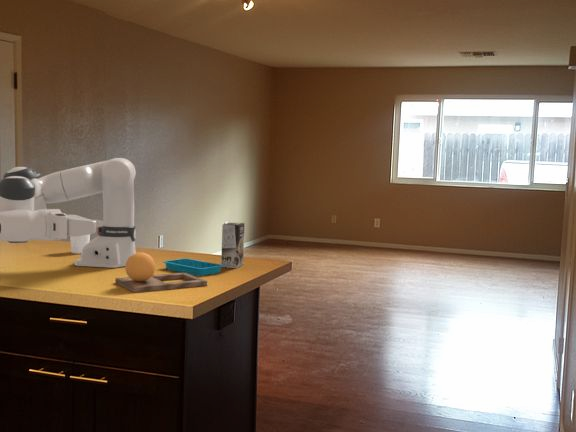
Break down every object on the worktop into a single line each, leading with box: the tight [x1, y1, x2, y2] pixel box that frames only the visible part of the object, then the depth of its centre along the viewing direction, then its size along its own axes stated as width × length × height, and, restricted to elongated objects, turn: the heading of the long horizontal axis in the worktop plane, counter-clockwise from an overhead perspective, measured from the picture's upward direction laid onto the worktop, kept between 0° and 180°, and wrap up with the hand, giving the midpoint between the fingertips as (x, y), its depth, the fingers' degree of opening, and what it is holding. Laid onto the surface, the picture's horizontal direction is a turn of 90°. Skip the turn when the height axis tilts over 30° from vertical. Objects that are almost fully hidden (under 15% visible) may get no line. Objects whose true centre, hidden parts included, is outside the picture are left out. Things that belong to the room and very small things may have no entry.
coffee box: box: [220, 222, 245, 269], centre depth 236 cm, size 9×6×16 cm
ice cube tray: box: [162, 258, 223, 277], centre depth 225 cm, size 12×20×3 cm, turn 52°
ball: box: [124, 251, 156, 282], centre depth 195 cm, size 9×9×9 cm
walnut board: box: [114, 272, 208, 293], centre depth 199 cm, size 24×16×2 cm, turn 124°
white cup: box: [69, 234, 91, 255], centre depth 256 cm, size 8×8×10 cm
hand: (101, 223), depth 187 cm, fingers closed
